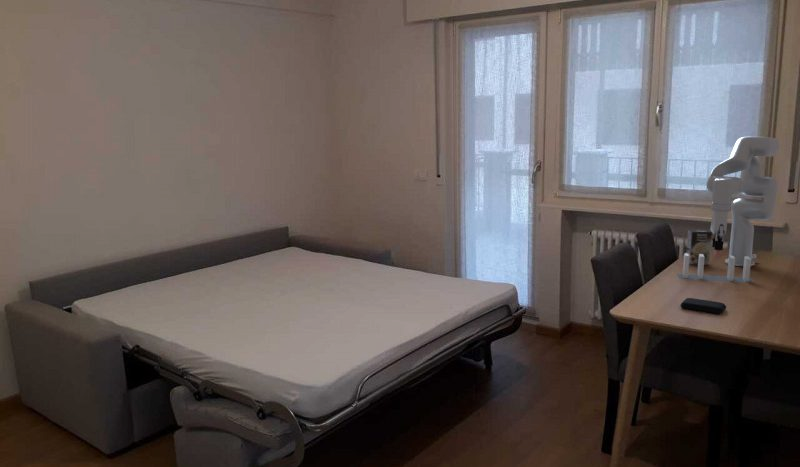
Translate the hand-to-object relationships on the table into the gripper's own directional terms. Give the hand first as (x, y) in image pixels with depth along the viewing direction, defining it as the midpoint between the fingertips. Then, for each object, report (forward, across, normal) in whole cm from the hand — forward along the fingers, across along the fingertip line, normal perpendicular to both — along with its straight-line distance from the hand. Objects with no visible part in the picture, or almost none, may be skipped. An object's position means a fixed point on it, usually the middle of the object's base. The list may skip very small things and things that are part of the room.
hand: (717, 248), depth 269 cm
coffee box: (+14, -29, -3) cm, 33 cm away
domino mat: (+14, 0, 0) cm, 14 cm away
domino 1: (+14, 0, -12) cm, 18 cm away
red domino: (+3, 0, 0) cm, 3 cm away
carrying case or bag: (+15, +45, -10) cm, 49 cm away
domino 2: (+14, 0, -6) cm, 15 cm away
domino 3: (+14, 0, +6) cm, 15 cm away
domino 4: (+13, 0, +12) cm, 18 cm away
